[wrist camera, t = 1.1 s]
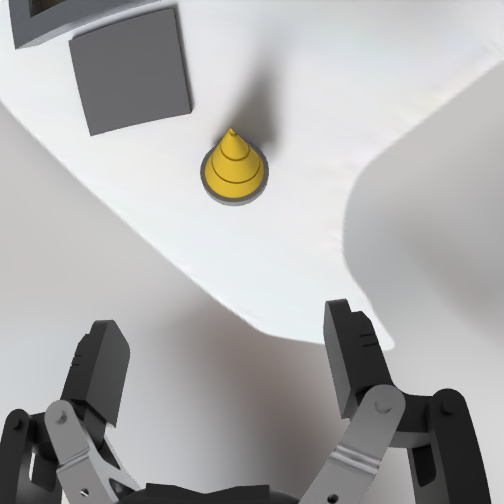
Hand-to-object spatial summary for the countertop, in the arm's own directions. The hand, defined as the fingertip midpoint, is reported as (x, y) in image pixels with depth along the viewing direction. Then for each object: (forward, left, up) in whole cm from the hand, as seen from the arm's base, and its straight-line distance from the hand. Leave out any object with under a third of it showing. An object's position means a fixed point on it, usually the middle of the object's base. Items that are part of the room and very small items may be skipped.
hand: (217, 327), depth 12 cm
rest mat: (+7, -9, -18) cm, 21 cm away
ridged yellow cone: (0, 0, -19) cm, 19 cm away
